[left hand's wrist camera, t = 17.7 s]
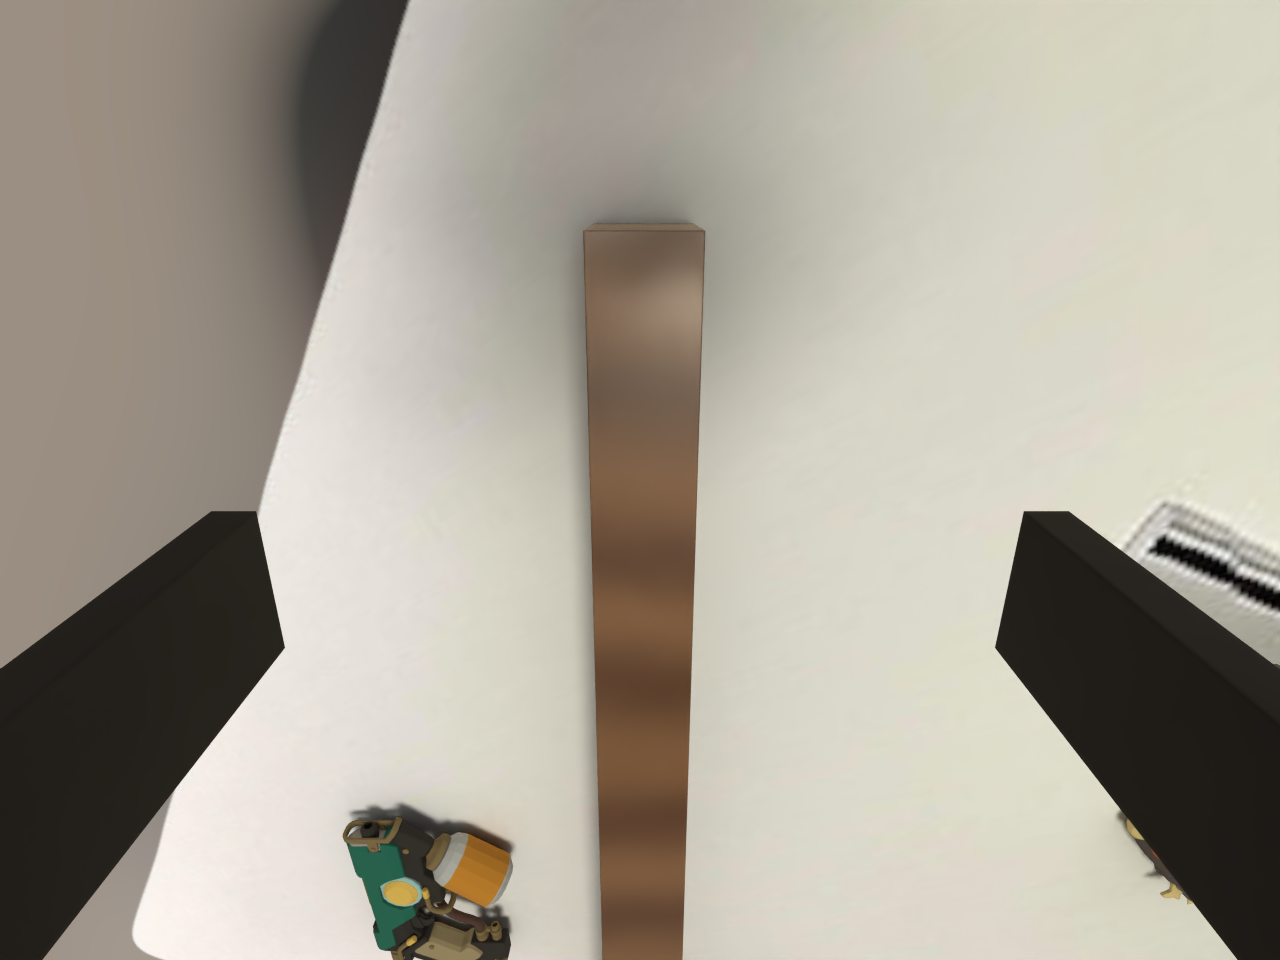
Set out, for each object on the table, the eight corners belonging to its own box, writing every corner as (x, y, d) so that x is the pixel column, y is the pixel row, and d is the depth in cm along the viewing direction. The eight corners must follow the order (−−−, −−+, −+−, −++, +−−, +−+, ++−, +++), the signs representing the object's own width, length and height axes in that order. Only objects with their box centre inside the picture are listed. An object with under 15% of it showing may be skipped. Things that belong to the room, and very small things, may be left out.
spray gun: (508, 952, 67) (345, 920, 66) (538, 827, 60) (357, 791, 59) (498, 1001, 63) (325, 969, 62) (528, 874, 56) (334, 836, 56)
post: (593, 223, 43) (583, 230, 36) (693, 223, 43) (705, 230, 36) (611, 1045, 71) (607, 1148, 63) (672, 1044, 71) (676, 1147, 63)
